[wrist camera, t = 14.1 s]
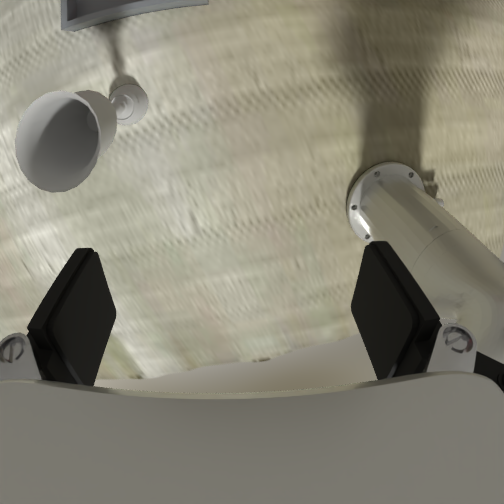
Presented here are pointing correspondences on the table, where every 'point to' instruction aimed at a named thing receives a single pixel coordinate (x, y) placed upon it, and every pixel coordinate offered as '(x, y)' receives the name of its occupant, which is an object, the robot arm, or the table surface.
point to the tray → (112, 10)
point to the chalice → (72, 133)
